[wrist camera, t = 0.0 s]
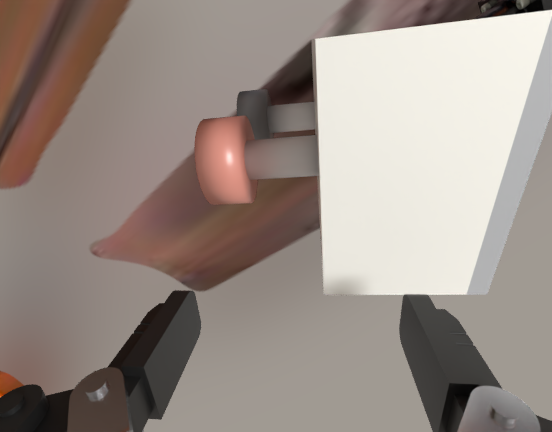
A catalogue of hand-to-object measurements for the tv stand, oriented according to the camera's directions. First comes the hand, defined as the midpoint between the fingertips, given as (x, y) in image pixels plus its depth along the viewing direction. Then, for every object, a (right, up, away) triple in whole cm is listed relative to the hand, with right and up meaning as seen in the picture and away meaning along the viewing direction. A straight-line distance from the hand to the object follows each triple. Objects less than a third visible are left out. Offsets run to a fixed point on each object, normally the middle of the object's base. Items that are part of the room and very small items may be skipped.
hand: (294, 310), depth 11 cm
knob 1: (+1, +12, +13) cm, 18 cm away
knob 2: (0, +8, +5) cm, 9 cm away
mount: (+6, +15, +16) cm, 23 cm away
